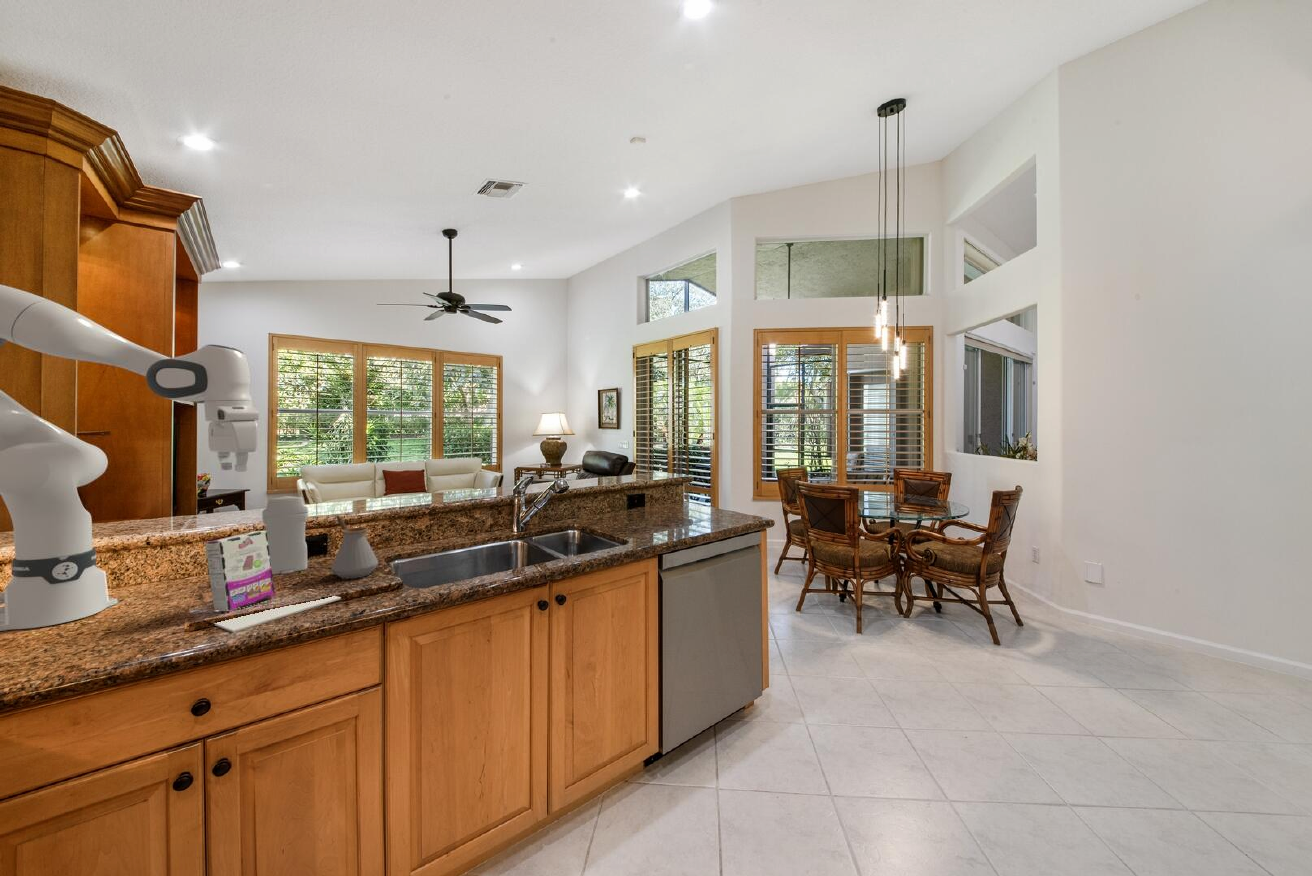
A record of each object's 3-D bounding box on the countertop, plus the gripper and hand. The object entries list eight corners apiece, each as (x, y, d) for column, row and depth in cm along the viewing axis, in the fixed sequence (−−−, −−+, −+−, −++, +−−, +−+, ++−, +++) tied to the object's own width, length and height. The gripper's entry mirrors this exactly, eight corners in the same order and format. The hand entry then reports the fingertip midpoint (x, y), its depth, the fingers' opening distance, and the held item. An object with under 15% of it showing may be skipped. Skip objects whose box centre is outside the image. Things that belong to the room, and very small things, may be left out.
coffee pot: (384, 574, 144) (383, 522, 143) (338, 583, 135) (337, 528, 135) (358, 560, 158) (358, 512, 158) (316, 567, 150) (315, 517, 149)
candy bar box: (259, 596, 126) (252, 531, 125) (275, 595, 125) (268, 530, 124) (211, 613, 115) (203, 541, 114) (229, 612, 114) (221, 540, 113)
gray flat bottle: (308, 566, 151) (306, 493, 150) (309, 569, 148) (308, 495, 147) (263, 573, 144) (261, 497, 143) (264, 577, 141) (262, 498, 140)
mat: (203, 620, 110) (203, 618, 110) (310, 590, 130) (310, 589, 130) (233, 632, 104) (233, 630, 104) (340, 599, 124) (340, 597, 124)
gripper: (198, 414, 124) (202, 470, 125) (228, 412, 113) (232, 474, 113) (230, 414, 129) (234, 467, 130) (262, 412, 118) (266, 470, 119)
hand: (233, 470), depth 122 cm, fingers open, 8 cm apart
